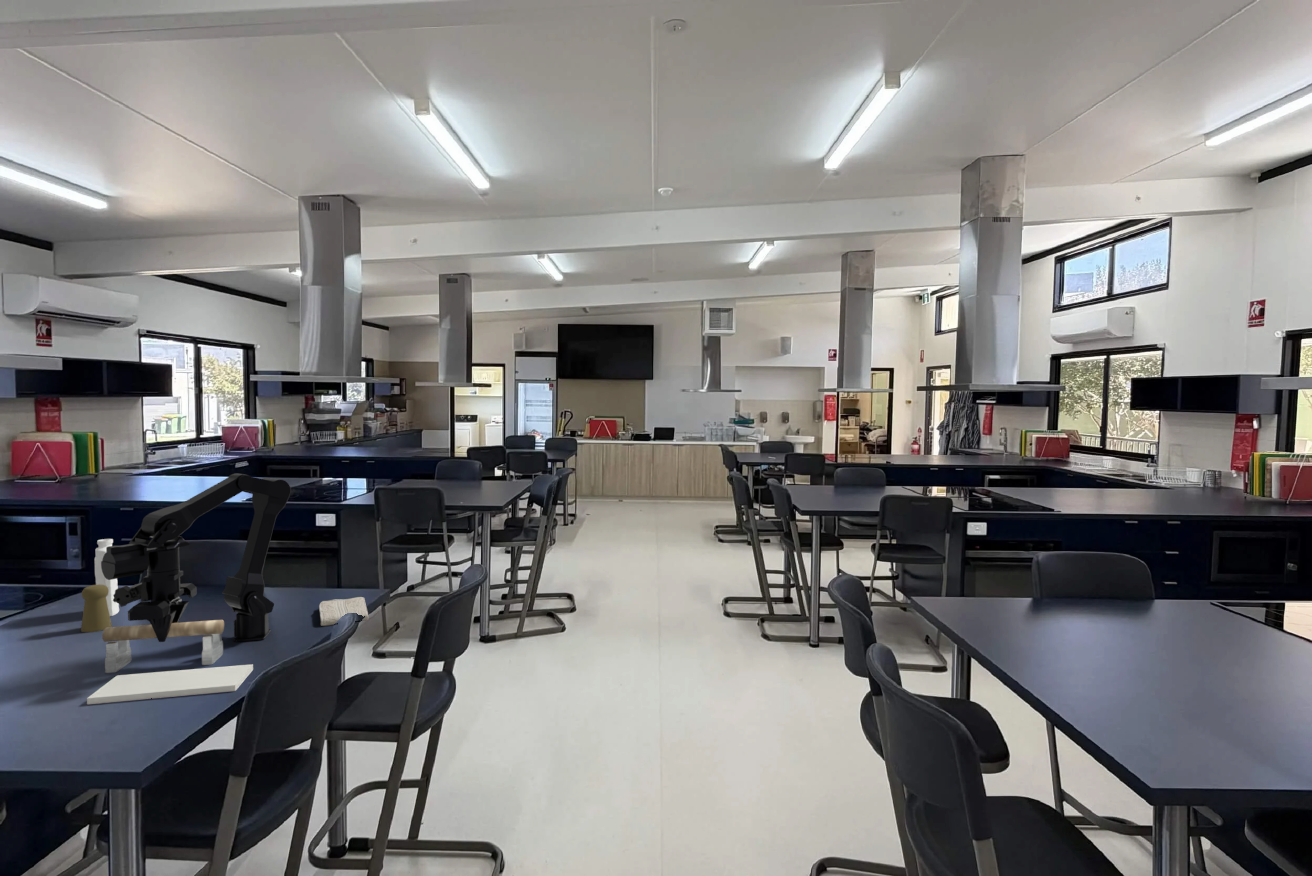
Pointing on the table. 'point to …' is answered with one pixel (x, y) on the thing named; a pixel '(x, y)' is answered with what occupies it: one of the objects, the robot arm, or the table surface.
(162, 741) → the table surface
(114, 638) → the beech dowel
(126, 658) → the aluminium cradles
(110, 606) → the squeeze bottle
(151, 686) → the cutting board
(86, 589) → the cork
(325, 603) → the washcloth
